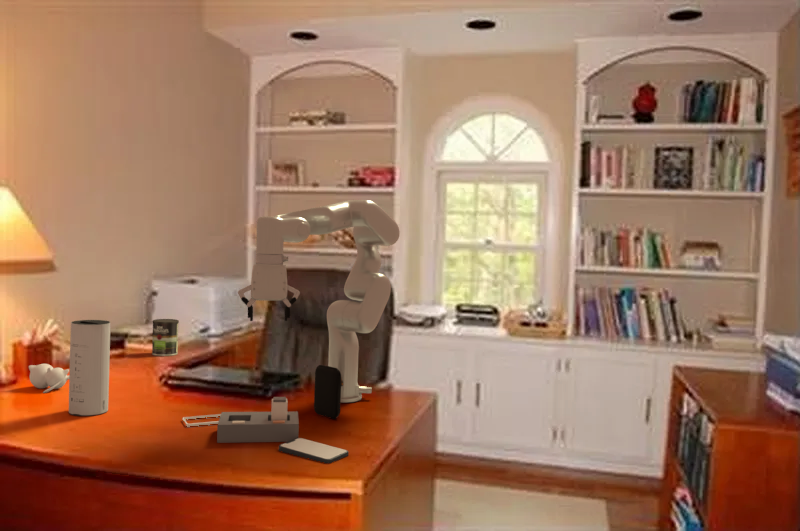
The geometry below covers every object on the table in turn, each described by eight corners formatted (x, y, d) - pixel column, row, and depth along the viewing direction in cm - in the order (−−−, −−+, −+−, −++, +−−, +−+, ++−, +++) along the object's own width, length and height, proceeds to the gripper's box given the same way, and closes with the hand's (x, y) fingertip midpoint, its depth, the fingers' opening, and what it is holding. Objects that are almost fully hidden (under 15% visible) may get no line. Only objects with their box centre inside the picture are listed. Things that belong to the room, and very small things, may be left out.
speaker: (117, 410, 195) (118, 320, 194) (86, 418, 186) (88, 323, 185) (90, 405, 200) (92, 316, 199) (59, 413, 190) (61, 320, 189)
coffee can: (170, 357, 278) (171, 322, 277) (147, 355, 279) (147, 321, 279) (182, 352, 288) (183, 319, 287) (159, 351, 289) (160, 318, 289)
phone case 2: (350, 457, 164) (299, 443, 173) (351, 450, 164) (299, 436, 173) (328, 467, 157) (275, 452, 165) (328, 460, 157) (276, 445, 165)
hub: (297, 427, 185) (297, 410, 184) (298, 441, 173) (298, 422, 173) (221, 428, 181) (221, 410, 181) (217, 442, 169) (217, 423, 169)
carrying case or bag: (344, 419, 194) (346, 368, 194) (337, 421, 192) (339, 370, 191) (318, 412, 201) (320, 363, 200) (311, 414, 199) (312, 364, 198)
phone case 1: (236, 417, 195) (181, 422, 188) (236, 412, 195) (181, 417, 188) (242, 423, 188) (186, 429, 181) (242, 419, 188) (187, 424, 181)
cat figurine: (67, 360, 217) (35, 356, 220) (47, 383, 209) (13, 379, 211) (76, 380, 222) (44, 376, 225) (56, 403, 214) (23, 399, 216)
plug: (286, 428, 180) (287, 396, 180) (286, 433, 176) (287, 400, 176) (270, 428, 180) (271, 396, 179) (270, 433, 176) (271, 400, 175)
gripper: (299, 260, 198) (298, 318, 199) (238, 259, 194) (238, 318, 195) (301, 261, 190) (300, 322, 191) (237, 260, 187) (236, 322, 188)
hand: (268, 320), depth 193 cm, fingers open, 9 cm apart
